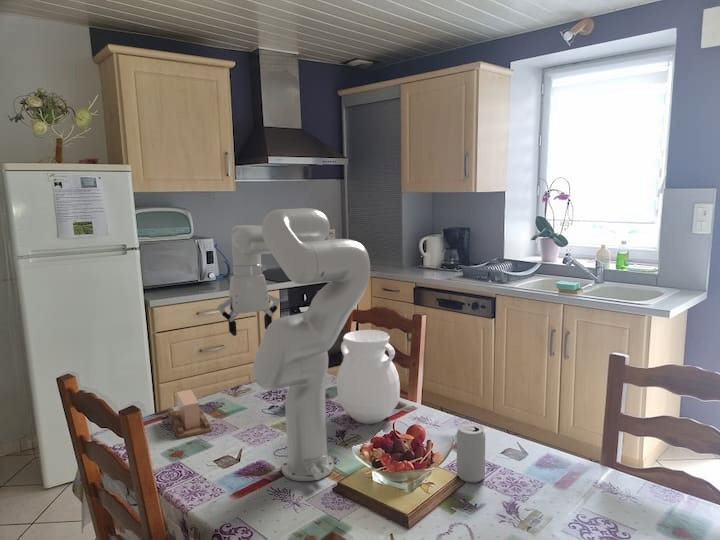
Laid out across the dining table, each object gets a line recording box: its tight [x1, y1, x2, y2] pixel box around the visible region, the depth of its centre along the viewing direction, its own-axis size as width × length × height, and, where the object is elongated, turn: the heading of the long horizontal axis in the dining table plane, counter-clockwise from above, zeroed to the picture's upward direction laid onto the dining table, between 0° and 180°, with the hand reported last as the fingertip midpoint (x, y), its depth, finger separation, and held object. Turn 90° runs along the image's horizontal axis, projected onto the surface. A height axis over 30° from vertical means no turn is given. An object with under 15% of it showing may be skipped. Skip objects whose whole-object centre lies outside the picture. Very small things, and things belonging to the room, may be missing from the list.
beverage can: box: [456, 422, 486, 484], centre depth 123 cm, size 6×6×12 cm
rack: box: [167, 406, 212, 440], centre depth 156 cm, size 18×9×2 cm, turn 28°
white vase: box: [336, 329, 401, 425], centre depth 156 cm, size 19×18×25 cm
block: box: [176, 389, 200, 429], centre depth 156 cm, size 4×12×7 cm, turn 28°
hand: (251, 332), depth 148 cm, fingers open, 9 cm apart
